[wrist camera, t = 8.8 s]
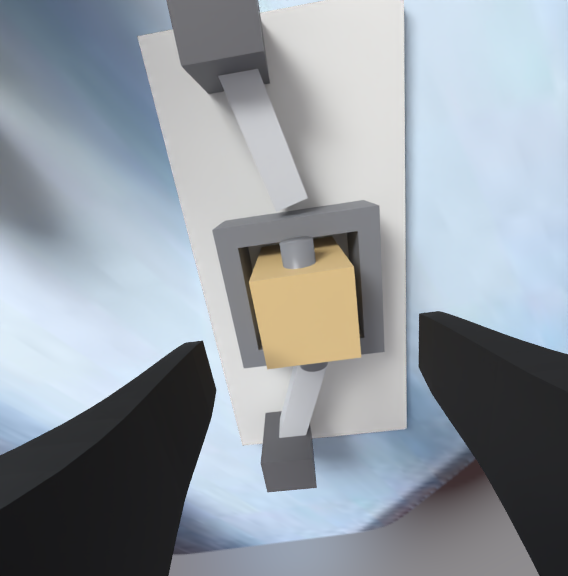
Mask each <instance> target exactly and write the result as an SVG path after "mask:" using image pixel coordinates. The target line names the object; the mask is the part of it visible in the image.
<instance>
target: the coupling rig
mask: <svg viewBox="0 0 568 576" xmlns="http://www.w3.org/2000/svg"><path fill="white" fill-rule="evenodd" d="M167 5H168V9H169V14H170V18H171V23H172V27H173V30H167V31H162V32H157V33H152V34H146V35H141V36H137V37H138V41H139V45H140V49H141V53H142V57H143V60H144V64H145V68H146V72H147V76H148V80H149V84H150V88H151V92H152V95H153V99H154V103H155V107H156V111H157V115H158V119H159V123H160V127H161V130H162V134H163V138H164V142H165V146H166V150H167V154H168V158H169V162H170V165H171V169H172V173H173V177H174V181H175V185H176V189H177V193H178V197H179V200H180V204H181V208H182V212H183V216H184V220H185V224H186V228H187V232H188V235H189V239H190V243H191V247H192V251H193V255H194V259H195V263H196V267H197V270H198V274H199V278H200V282H201V286H202V290H203V294H204V298H205V302H206V305H207V309H208V313H209V317H210V321H211V325H212V329H213V333H214V337H215V340H216V344H217V348H218V352H219V356H220V360H221V364H222V368H223V372H224V375H225V379H226V383H227V387H228V391H229V395H230V399H231V403H232V407H233V410H234V414H235V418H236V422H237V426H238V430H239V434H240V438H241V442H242V445H243V446H244V445H254V444H263V445H262V456H261V467H262V471H263V475H264V479H265V484H266V488H267V492H276V491H287V490H297V489H308V488H317V486H316V475H315V465H314V454H313V443H312V439H313V438H323V437H333V436H342V435H352V434H362V433H372V432H382V431H392V430H401V429H407V402H406V247H405V93H404V0H325V1H319V2H314V3H309V4H304V5H298V6H293V7H288V8H283V9H277V10H272V11H267V12H262V13H260V10H259V4H258V0H167ZM302 236H309V237H313V239H317V238H323V237H330V236H332V237H333V238H334V240H335V241H336V243H337V244H338V245H339V247H340V248H341V249H342V251H343V252H344V254H345V255H346V256H347V258H348V259H349V261H350V262H351V263H352V265H353V266H354V274H355V286H356V298H357V311H358V323H359V335H360V347H361V358H353V359H345V360H338V361H330V362H328V365H327V366H326V367H325V368H324V369H322V370H320V371H316V372H308V371H305V370H303V369H301V367H300V365H298V366H290V367H283V368H275V369H267V366H266V361H265V356H264V352H263V347H262V342H261V337H260V333H259V328H258V323H257V318H256V314H255V309H254V304H253V299H252V295H251V290H250V285H249V280H250V278H251V275H252V272H253V269H254V267H255V264H256V261H257V258H258V256H259V253H260V250H261V247H265V246H272V245H278V244H279V243H280V242H281V241H283V240H285V239H289V238H294V237H302Z"/></svg>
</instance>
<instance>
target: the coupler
mask: <svg viewBox="0 0 568 576" xmlns="http://www.w3.org/2000/svg"><path fill="white" fill-rule="evenodd" d="M249 285H250V290H251V295H252V299H253V304H254V309H255V314H256V318H257V323H258V328H259V333H260V337H261V342H262V347H263V352H264V356H265V361H266V366H267V369H275V368H283V367H290V366H298V365H300V367H301V369H303V370H305V371H308V372H316V371H320V370H322V369H324V368H325V367H326V366H327V365H328V362H330V361H338V360H345V359H353V358H361V347H360V335H359V323H358V311H357V298H356V286H355V274H354V266H353V265H352V263H351V262H350V261H349V259H348V258H347V256H346V255H345V254H344V252H343V251H342V249H341V248H340V247H339V245H338V244H337V243H336V241H335V240H334V238H333V237H332V236H330V237H323V238H317V239H313V237H309V236H302V237H294V238H289V239H285V240H283V241H281V242H280V243H279V244H278V245H272V246H265V247H261V250H260V253H259V256H258V258H257V261H256V264H255V267H254V269H253V272H252V275H251V278H250V280H249Z"/></svg>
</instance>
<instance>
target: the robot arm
mask: <svg viewBox="0 0 568 576" xmlns="http://www.w3.org/2000/svg"><path fill="white" fill-rule="evenodd" d="M419 369H420V371H421V373H422V375H423V377H424V379H425V381H426V383H427V385H428V387H429V389H430V391H431V393H432V395H433V396H434V398H435V399H436V401H437V402H438V404H439V405H440V407H441V408H442V410H443V411H444V413H445V414H446V416H447V417H448V418H449V420H450V421H451V423H452V424H453V426H454V427H455V429H456V430H457V432H458V433H459V435H460V436H461V438H462V439H463V440H464V442H465V443H466V445H467V446H468V448H469V449H470V451H471V452H472V454H473V455H474V457H475V458H476V460H477V461H478V463H479V464H480V466H481V467H482V469H483V471H484V472H485V474H486V476H487V478H488V479H489V481H490V483H491V484H492V486H493V488H494V490H495V492H496V494H497V496H498V497H499V499H500V501H501V503H502V505H503V506H504V508H505V510H506V512H507V514H508V516H509V517H510V519H511V521H512V523H513V525H514V527H515V529H516V531H517V533H518V535H519V537H520V539H521V540H522V542H523V544H524V546H525V548H526V550H527V552H528V554H529V555H530V558H531V560H532V562H533V563H534V566H535V568H536V569H537V572H538V574H539V575H540V576H568V354H564V353H561V352H557V351H554V350H551V349H547V348H544V347H541V346H538V345H535V344H532V343H529V342H526V341H522V340H519V339H517V338H514V337H511V336H508V335H505V334H502V333H500V332H497V331H494V330H491V329H489V328H486V327H483V326H481V325H478V324H475V323H473V322H470V321H467V320H465V319H462V318H459V317H456V316H453V315H450V314H447V313H444V312H440V311H436V312H428V313H420V314H419ZM215 395H216V387H215V383H214V380H213V376H212V372H211V369H210V365H209V361H208V358H207V354H206V351H205V347H204V343H203V341H196V342H188V343H184V344H183V345H181V346H179V347H178V348H176V349H175V350H173V351H172V352H170V353H169V354H168V355H166V356H165V357H164V358H162V359H161V360H159V361H158V362H157V363H155V364H154V365H153V366H151V367H150V368H149V369H147V370H146V371H145V372H143V373H142V374H140V375H139V376H138V377H136V378H135V379H133V380H132V381H130V382H129V383H128V384H126V385H125V386H123V387H122V388H120V389H119V390H117V391H116V392H114V393H113V394H112V395H110V396H109V397H107V398H105V399H104V400H102V401H101V402H99V403H98V404H96V405H94V406H93V407H91V408H90V409H88V410H86V411H84V412H83V413H81V414H79V415H78V416H76V417H74V418H72V419H71V420H69V421H67V422H65V423H64V424H62V425H60V426H58V427H56V428H54V429H52V430H50V431H48V432H46V433H44V434H42V435H40V436H39V437H37V438H35V439H33V440H31V441H29V442H27V443H25V444H23V445H21V446H19V447H17V448H15V449H13V450H11V451H9V452H6V453H4V454H2V455H0V576H168V575H169V570H170V565H171V560H172V555H173V551H174V546H175V541H176V537H177V532H178V528H179V523H180V519H181V515H182V510H183V506H184V502H185V498H186V495H187V491H188V488H189V484H190V481H191V478H192V475H193V472H194V469H195V466H196V463H197V460H198V457H199V454H200V451H201V448H202V445H203V442H204V439H205V436H206V433H207V430H208V427H209V424H210V420H211V417H212V412H213V407H214V401H215Z"/></svg>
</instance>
